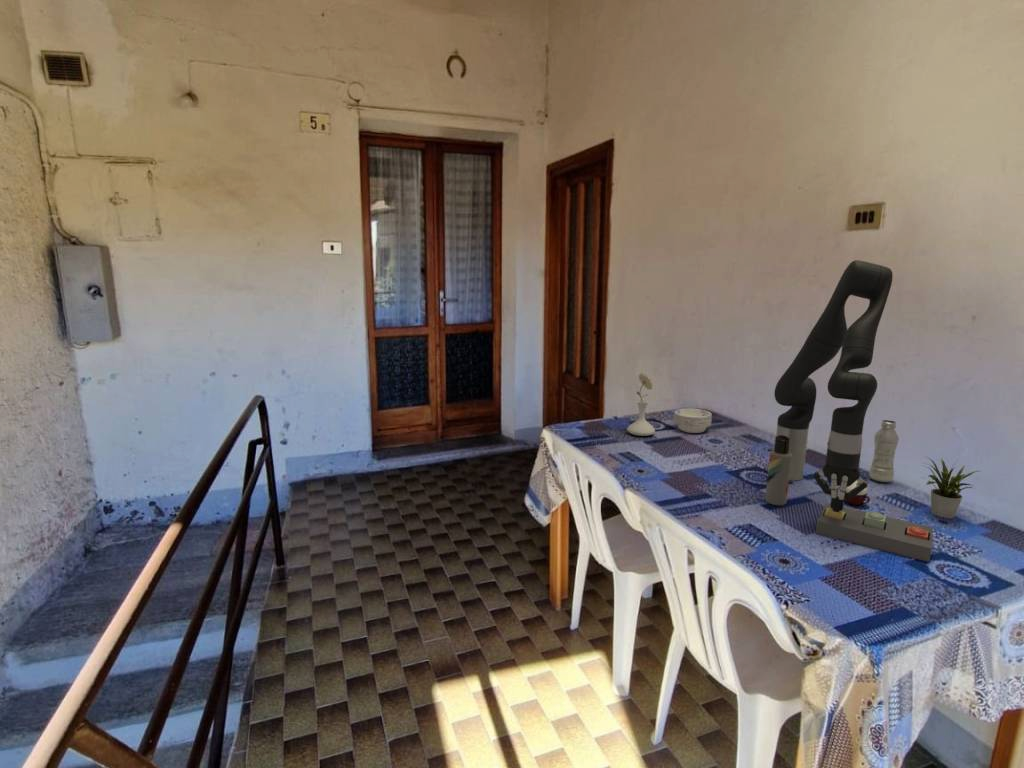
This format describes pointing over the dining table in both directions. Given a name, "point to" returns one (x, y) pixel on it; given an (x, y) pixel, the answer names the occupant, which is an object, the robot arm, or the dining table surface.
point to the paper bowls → (692, 420)
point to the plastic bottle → (884, 452)
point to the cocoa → (859, 497)
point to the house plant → (946, 491)
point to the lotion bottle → (779, 472)
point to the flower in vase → (642, 412)
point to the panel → (876, 533)
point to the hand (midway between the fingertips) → (836, 510)
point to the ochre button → (834, 514)
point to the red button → (917, 532)
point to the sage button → (875, 520)
